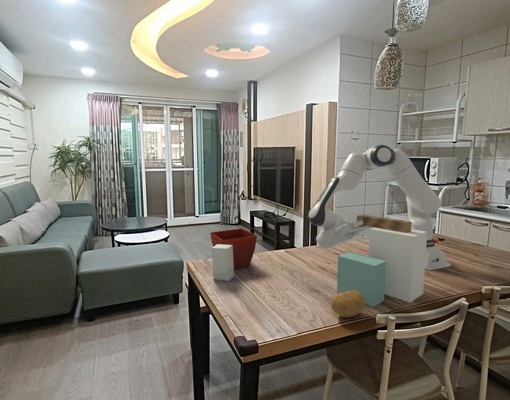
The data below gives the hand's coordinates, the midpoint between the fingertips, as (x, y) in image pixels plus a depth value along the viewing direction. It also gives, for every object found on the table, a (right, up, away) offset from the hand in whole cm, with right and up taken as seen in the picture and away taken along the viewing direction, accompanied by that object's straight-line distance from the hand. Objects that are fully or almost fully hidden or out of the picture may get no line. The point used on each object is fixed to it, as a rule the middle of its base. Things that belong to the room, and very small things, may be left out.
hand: (368, 220), depth 138 cm
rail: (+4, -3, -4) cm, 7 cm away
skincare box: (-65, -28, +10) cm, 71 cm away
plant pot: (-61, -26, +28) cm, 72 cm away
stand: (+9, -29, -6) cm, 31 cm away
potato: (-17, -32, -26) cm, 45 cm away
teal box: (-8, -30, -12) cm, 33 cm away
